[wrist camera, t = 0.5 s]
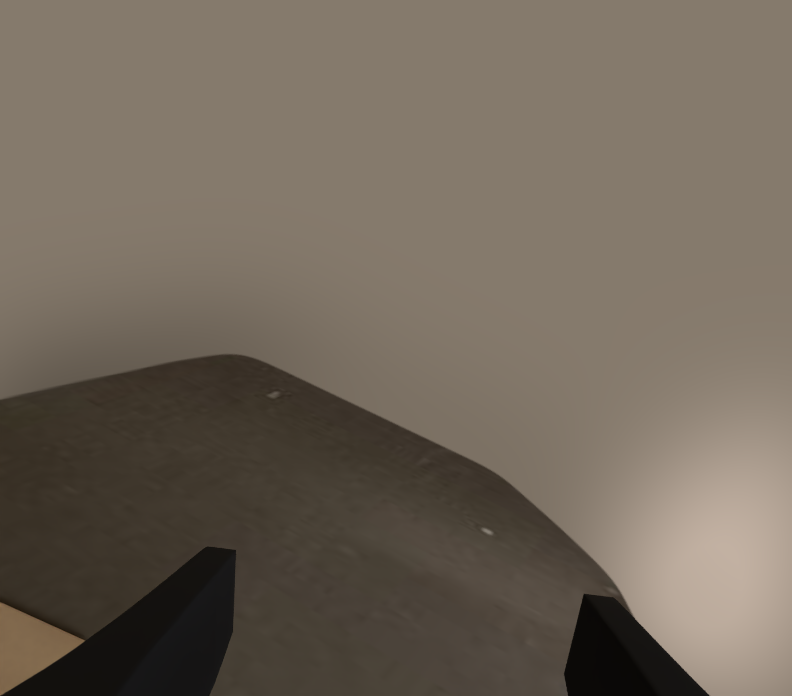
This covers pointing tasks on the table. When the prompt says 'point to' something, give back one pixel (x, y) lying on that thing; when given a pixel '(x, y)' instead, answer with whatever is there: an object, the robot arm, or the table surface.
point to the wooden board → (28, 646)
